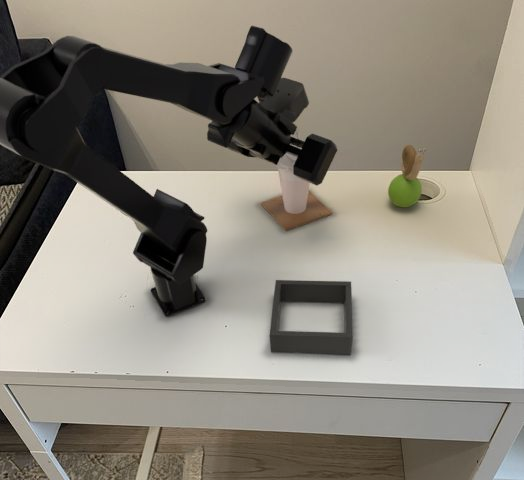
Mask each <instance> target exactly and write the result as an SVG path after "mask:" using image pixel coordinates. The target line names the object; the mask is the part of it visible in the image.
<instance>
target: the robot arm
mask: <svg viewBox="0 0 524 480" xmlns="http://www.w3.org/2000/svg"><path fill="white" fill-rule="evenodd" d="M240 51H241V52H240V54H239V56H238V58H237V60H236V63H235V66H230V65H227V64H225V63H220V62H218V63H213V64H211V65H207V64H203V63H200V62H177V63H174V64H168V63H167V64H165V63H162V62H158V61H154V60H150V59H148V58H143V57H140V56H137V55H132V54H129V53H126V52H123V51H122V52H121V51H118V50H115V49H111V48H109V47H108V48H107V47H103V46H102V45H100V44H97V43H95V42H92V41H89V40H86V39H84V38H81V37H78V36H75V35H65V36H63V37H61V38H59V39H56V40H55V42H53V43H52V44H51V45H50V46H49V47H48V48H46V49H45V50H44V51H42V52H40V53H38V54H36V55H34V56H32V57H30V58H28V59H25V60H23V61H22V62H19V63H17V64H14V65H12V67H10V68H9V69H8V70H7V71H5V72H4V73H3V74H2V75H1V76H0V146H2V147H3V148H6V149H8V150H9V151H11V152H13V153H15V154H16V155H18V156H20V157H22V158H24V159H25V160H27V161H30V162H33V163H35V164H37V165H41V166H42V167H45V168H47V169H49V170H52V171H55V172H58V173H61V174H63V175H65V176H66V177H68V178H70V180H72V181H74V182H75V183H76V184H78V185H79V186H81V187H82V188H84V189H85V190H86V191H87V190H88V191H89V192H90V193H91V194H93V195H95V196H96V197H98V198H99V199H101V200H102V201H104V202H105V203H106V204H108V205H110V206H111V207H113V208H114V209H116V210H117V211H118V212H120V213H122V214H123V215H125V216H126V217H127V218H129V219H131V220H132V221H133V224H134V225H135V227H136V229H137V231H139V233H140V235H139V237H138V240H137V241H136V244H135V246H134V249H133V251H132V254H133V256H134V257H135V258H136V259H137V260H138V262H140V263H143V264H145V265H146V266H148V267H150V271H151V275H152V279H153V282H154V287H152V288H151V289H150V294H151V295H152V297H153V299H154V300H155V303H156V304H157V305H158V307H159V309H160V310H161V312H162V314H163V315H164V317H166V318H168V317H170V316H173V315H176V314H178V313H181V312H184V311H186V310H188V309H192V308H193V307H194V308H195V307H196V306H198V305H199V306H200V305H201V304H203V303H206V301H207V299H206V296H205V295H204V293H203V291H202V290H201V289H200V287H199V286H198V284H197V283H196V280H195V276H194V275H196V274H197V273H199V272H200V271H202V270H203V268H204V264H205V257H206V248H207V243H208V241H207V239H208V238H207V233H208V227H207V225H206V224H205V223H204V222H203V221H204V220H205V216H204V215H201V214H199V213H198V212H195V211H194V209H193V208H192V207H191V206H190V205H189V204H188V203H186V202H184V201H182V200H180V199H178V198H177V197H175V196H172V195H170V194H168V193H166V192H164V191H163V190H160V189H159V188H156V189H155V192H154V194H153V195H152V194H150V192H148V191H147V190H145V189H144V188H143V187H142V186H140V185H139V184H138V183H137V182H135V181H134V180H132V179H131V178H130V177H129V176H127V175H126V174H125V173H123V172H122V171H121V170H120V169H119V168H117V167H116V166H114V165H113V164H112V163H110V161H108V160H106V159H105V158H104V157H103V156H102V155H100V154H99V153H97V152H96V151H95V150H94V149H93V148H91V147H90V146H89V145H87V143H86V142H85V141H84V138H83V137H82V135H81V133H80V130H79V129H78V126H79V125H81V123H82V122H83V121H84V120H85V118H86V115H87V113H88V110H89V109H90V106H91V104H92V101H93V99H94V97H95V96H96V95H97V94H98V93H99V92H100V91H101V90H104V91H105V90H106V91H111V92H117V93H121V94H125V95H130V96H135V97H139V98H145V99H150V100H155V101H159V102H165V103H169V104H172V105H173V106H176V107H177V108H180V109H182V110H184V111H186V112H189V113H190V114H193V115H196V116H198V117H201V118H204V119H207V120H209V121H211V122H208V124H207V129H208V130H207V132H206V140H207V141H208V142H210V143H212V144H215V145H217V146H220V147H222V148H224V149H227V150H230V151H233V152H234V153H237V154H239V155H242V156H244V157H247V158H257V159H260V160H262V161H265V162H267V163H271V164H272V165H275V166H276V165H277V164H278V162H279V160H280V158H282V157H283V156H284V155H285V154H286V153H288V154H291V155H293V156H296V157H297V159H296V161H295V163H294V166H293V174H294V175H295V176H296V177H298V178H300V179H302V180H304V181H307V182H309V183H310V184H311V185H314V186H319V185H321V184H323V181H324V180H325V177H326V175H327V173H328V171H329V169H330V166H331V164H332V162H333V161H334V159H335V156H336V155H337V152H338V147H337V144H336V143H335V142H334V141H332V140H331V139H329V138H326V137H323V136H322V135H318V134H315V133H310V134H309V135H308V136H306V137H305V140H301V139H300V138H299V139H296V137H294V135H295V134H296V130H298V126H297V125H296V124H295V122H296V121H297V119H298V118H299V117H300V115H301V114H302V113H303V112H304V110H305V109H306V108H307V107H308V106H309V104H310V101H309V97H308V95H307V92H306V88H305V85H304V83H302V82H301V81H297V80H293V79H290V78H287V77H282V76H283V74H284V72H285V70H286V67H287V65H288V63H289V61H290V58H291V56H292V55H293V48H292V47H291V45H290V44H288V43H287V42H286V41H283V40H281V39H280V38H278V37H276V36H275V35H273V34H271V33H269V32H267V31H266V30H265V28H263V27H260V26H256V25H250V27H249V30H248V32H247V35H246V38H245V41H244V45H243V46H242V49H241V50H240ZM46 96H47V97H46ZM256 98H257V100H258V101H257V100H256ZM291 135H292V136H291ZM295 146H296V147H295ZM297 147H299V148H297ZM300 148H301V149H300Z"/></svg>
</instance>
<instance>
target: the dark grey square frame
mask: <svg viewBox="0 0 524 480" xmlns="http://www.w3.org/2000/svg"><path fill="white" fill-rule="evenodd" d="M352 298H353V295H352V281H348V280H347V281H345V280H343V281H342V280H300V279H299V280H296V279H295V280H293V279H290V280H289V279H275V284H274V291H273V300H272V301H273V302H272V310H271V319H270V327H269V346H270V347H269V348H270V353H275V354H276V353H277V354H279V353H280V354H307V355H308V354H310V355H334V356H335V355H336V356H339V355H340V356H351V354H352V348H353V347H352V345H353V336H354V335H353V301H352ZM282 302H283V303H285V302H286V303H319V304H328V303H329V304H330V303H331V304H343V327H344V329H343V330H344V331H343V332H333V331H332V332H331V331H330V332H329V331H300V330H280V321H281V311H282Z"/></svg>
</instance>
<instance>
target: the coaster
mask: <svg viewBox="0 0 524 480" xmlns="http://www.w3.org/2000/svg"><path fill="white" fill-rule="evenodd" d="M260 206H262V207H263V209H265V211H266V212H267V213H268V214H269V215H270V216H271V217H272V218H273V219H274V221H276V222H277V223H278V225H279V226H280V227H281V228H283V230H284V231H285V232H288V231H290V230H293V229H295V228H296V229H297V228H298V227H301V226H304V225H307V224H309V223H312V222H314V221H317V220H320V219H323V218H326V217H328V216H331V215H333V211H332V210H331V209H329V208H328V207H327V206H326V205H325V204H324V203H323V202H322V201H321V200H320V199H318V198H317V196H315V195H314V194H313V193H312V192H311V191H310V190H309V192H308V198H307V205H306V210H305V211H304V212H302V213H299V214H291V213H288V212H287V211H286V210H285V207H284V202H283V196H282V195H279V196H276V197H273V198H270V199H268V200H265V201H262V202H260Z"/></svg>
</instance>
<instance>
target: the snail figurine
mask: <svg viewBox="0 0 524 480" xmlns="http://www.w3.org/2000/svg"><path fill="white" fill-rule="evenodd" d="M426 150H427V149H426V148H425V147H423V148H419V149H417V150H416V148H415V147H414V146H413V145H412V144H407V145H405V146H404V147H403V149H402V153H401V160H402V161H401V165H400V169H401V174H398V175H397V176H395V177H394V178H393V179H392V180H391V181H390V183H389V185H388V188H387V191H388V192H387V194H388V198H389V200H390V201H391V203H393V205H394V206H397V207H400V208H408V207H411V206H413V205H415V204H416V203H417V202H418V201H419V199H420V198H421V196H422V191H423V187H422V183H421V181H420V179H419V178H418V175H419V173H420V171H421V168H422V164H423V161H424V154H425V152H426ZM417 152H418V153H417Z"/></svg>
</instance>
